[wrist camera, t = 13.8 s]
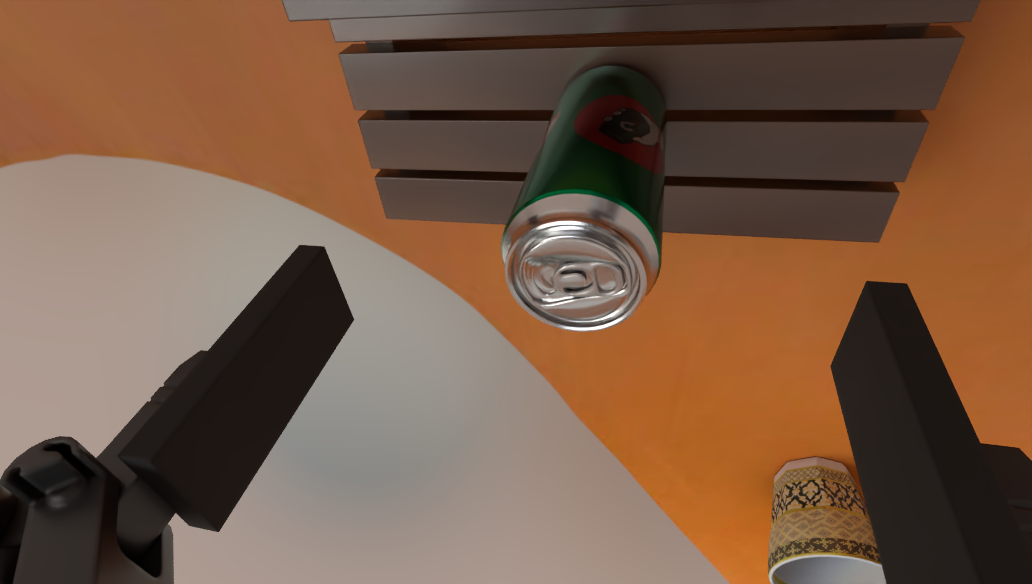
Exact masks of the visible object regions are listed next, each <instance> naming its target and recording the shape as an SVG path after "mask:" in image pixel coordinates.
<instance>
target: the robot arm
mask: <svg viewBox="0 0 1032 584" xmlns="http://www.w3.org/2000/svg"><path fill="white" fill-rule="evenodd" d="M353 321H354V318H353V316H352V313H351V311H350V309H349V306H348V304H347V301H346V299H345V296H344V294H343V291H342V289H341V286H340V284H339V282H338V279H337V277H336V274H335V272H334V269H333V267H332V264H331V262H330V259H329V257H328V254H327V252H326V250H325V247H321V246H307V245H299V246H298V248H297V249H296V250H295V251H294V252H293V253H292V254H291V256H290V257H289V258H288V259H287V260H286V261H285V262H284V264H283V265H282V266H281V267H280V268H279V270H278V271H277V272H276V273H275V274H274V275H273V276H272V278H271V279H270V280H269V281H268V282H267V283H266V284H265V286H264V287H263V288H262V289H261V290H260V291H259V292H258V294H257V295H256V296H255V297H254V298H253V299H252V301H251V302H250V303H249V304H248V305H247V306H246V308H245V309H244V310H243V311H242V312H241V313H240V315H239V316H238V317H237V318H236V319H235V320H234V321H233V322H232V324H231V325H230V326H229V327H228V328H227V329H226V331H225V332H224V333H223V334H222V335H221V336H220V337H219V339H218V340H217V341H216V342H215V343H214V344H213V346H212V347H211V348H210V349H209V350H208V351H202V350H201V351H199V352H198V353H197V354H195V355H194V356H192V357H191V358H189V359H188V360H187V361H185V362H184V363H183V364H181V365H180V366H179V367H178V368H177V369H176V370H175V371H174V372H173V374H172V375H171V376H170V377H169V378H168V379H167V380H166V381H165V382H164V386H163V387H160V388H159V389H158V390H157V391H156V392H155V394H154V395H153V396H152V397H151V401H150V402H147V403H146V404H145V405H144V406H143V407H142V408H141V409H140V410H139V412H138V413H137V414H136V415H135V416H134V417H133V418H132V419H131V420H130V421H129V423H128V424H127V425H126V426H125V427H124V428H123V429H122V430H121V432H120V433H119V434H118V435H117V436H116V437H115V438H114V439H113V441H112V442H111V443H110V444H109V445H108V446H107V447H106V449H105V450H104V451H103V452H102V453H101V454H100V455H99V456H98V457H97V458H95V457H94V456H93V455H92V454H90V452H88V451H87V450H86V449H85V448H84V447H83V446H82V445H81V444H80V443H79V442H78V441H76V440H75V439H73V438H72V437H61V436H59V437H55V438H52V439H48V440H45V441H43V442H41V443H39V444H37V445H35V446H33V447H31V448H29V449H28V450H27V451H25V452H24V453H23V454H21V455H20V456H19V457H17V458H16V459H15V460H14V461H13V462H12V463H11V465H10V466H9V467H8V468H7V469H6V470H5V471H4V473H3V475H2V477H1V479H0V584H174V578H173V577H174V575H173V574H174V572H173V571H174V570H173V533H172V530H171V527H170V526H169V525H168V523H169V521H170V520H171V518H172V517H173V516H174V514H175V513H177V514H178V515H179V516H180V517H181V518H182V519H183V520H184V521H185V522H186V523H187V524H188V525H189V526H192V527H197V528H202V529H207V530H211V531H216V532H219V531H220V529H221V528H222V526H223V525H224V523H225V522H226V520H227V518H228V517H229V515H230V514H231V512H232V510H233V509H234V507H235V506H236V504H237V503H238V501H239V500H240V498H241V496H242V495H243V493H244V492H245V490H246V489H247V487H248V485H249V484H250V482H251V481H252V479H253V477H254V476H255V474H256V473H257V471H258V470H259V468H260V466H261V465H262V463H263V462H264V460H265V459H266V457H267V456H268V454H269V452H270V451H271V449H272V448H273V446H274V444H275V443H276V441H277V440H278V438H279V437H280V435H281V434H282V432H283V430H284V429H285V427H286V426H287V424H288V422H289V421H290V419H291V418H292V416H293V415H294V413H295V412H296V410H297V408H298V407H299V405H300V404H301V402H302V401H303V399H304V397H305V396H306V394H307V393H308V391H309V390H310V388H311V387H312V385H313V383H314V382H315V380H316V379H317V377H318V376H319V374H320V372H321V371H322V369H323V368H324V366H325V364H326V363H327V361H328V360H329V358H330V357H331V355H332V353H333V352H334V350H335V349H336V347H337V345H338V344H339V343H340V341H341V339H342V338H343V336H344V335H345V333H346V331H347V330H348V328H349V327H350V325H351V324H352V322H353ZM831 370H832V374H833V378H834V382H835V386H836V390H837V394H838V397H839V401H840V405H841V409H842V413H843V417H844V421H845V425H846V429H847V432H848V436H849V440H850V444H851V448H852V452H853V456H854V460H855V464H856V467H857V471H858V475H859V479H860V483H861V487H862V491H863V495H864V499H865V502H866V506H867V510H868V514H869V518H870V522H871V526H872V530H873V534H874V538H875V541H876V545H877V549H878V553H879V557H880V561H881V565H882V569H883V573H884V576H885V580H886V584H1032V461H1031V460H1030V459H1029V458H1028V457H1027V456H1026V455H1025V454H1024V453H1023V452H1022V451H1021V450H1020V449H1019V448H1015V447H1007V446H999V445H990V444H982V443H980V442H979V439H978V437H977V435H976V433H975V431H974V428H973V426H972V424H971V422H970V420H969V418H968V415H967V413H966V411H965V409H964V407H963V405H962V402H961V400H960V398H959V396H958V394H957V391H956V389H955V387H954V385H953V383H952V381H951V378H950V376H949V374H948V372H947V370H946V367H945V365H944V363H943V361H942V359H941V357H940V354H939V352H938V350H937V348H936V346H935V344H934V341H933V339H932V337H931V335H930V333H929V330H928V328H927V326H926V324H925V322H924V320H923V317H922V315H921V313H920V311H919V309H918V307H917V304H916V302H915V300H914V298H913V296H912V293H911V291H910V289H909V287H908V285H907V284H905V283H889V282H873V281H866V283H865V286H864V288H863V290H862V293H861V295H860V297H859V300H858V302H857V305H856V307H855V309H854V312H853V314H852V316H851V319H850V321H849V324H848V326H847V328H846V331H845V333H844V335H843V338H842V340H841V342H840V345H839V347H838V350H837V352H836V354H835V357H834V359H833V361H832V364H831Z"/></svg>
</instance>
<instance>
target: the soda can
mask: <svg viewBox="0 0 1032 584" xmlns="http://www.w3.org/2000/svg"><path fill="white" fill-rule="evenodd" d="M666 133H667V112H666V106H665V103H664V100H663V97H662V96H661V94H660V92H659V90H658V89H657V88H656V86H655V85H654V84H653V83H652V82H651V81H650V80H649V79H648V78H647V77H645V76H644V75H642V74H641V73H639V72H637V71H635V70H632V69H630V68H626V67H621V66H602V67H597V68H594V69H591V70H588V71H586V72H584V73H582V74H581V75H579V76H578V77H576V78H575V79H574V80H573V81H572V82H570V83H569V84H568V86H567V87H566V88H565V89H564V91H563V92H562V94H561V96H560V98H559V100H558V102H557V105H556V107H555V109H554V112H553V114H552V116H551V119H550V121H549V124H548V126H547V128H546V131H545V133H544V136H543V138H542V140H541V143H540V145H539V148H538V150H537V152H536V155H535V157H534V160H533V162H532V164H531V167H530V169H529V171H528V174H527V176H526V179H525V181H524V183H523V186H522V188H521V191H520V193H519V195H518V198H517V200H516V203H515V205H514V207H513V210H512V212H511V214H510V217H509V219H508V222H507V224H506V227H505V229H504V232H503V235H502V242H501V255H502V259H503V264H504V266H505V277H506V281H507V285H508V287H509V290H510V292H511V294H512V295H513V297H514V298H515V300H516V301H517V302H518V304H519V305H520V306H521V307H522V308H523V309H524V310H525V311H527V312H528V313H529V314H530V315H532V316H533V317H535V318H536V319H538V320H540V321H542V322H544V323H546V324H548V325H551V326H553V327H556V328H560V329H564V330H570V331H581V332H588V331H597V330H602V329H607V328H609V327H612V326H615V325H617V324H619V323H621V322H623V321H624V320H626V319H627V318H629V317H630V316H631V315H632V314H633V313H634V312H635V311H636V310H637V309H638V307H639V306H640V304H641V303H642V301H643V299H644V297H645V296H646V295H647V294H648V293H649V292H650V291H651V289H652V288H653V286H654V285H655V283H656V281H657V278H658V276H659V273H660V268H661V259H662V234H663V209H664V184H665V159H666Z"/></svg>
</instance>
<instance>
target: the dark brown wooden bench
mask: <svg viewBox="0 0 1032 584" xmlns="http://www.w3.org/2000/svg"><path fill="white" fill-rule="evenodd" d="M282 2H283V5H284V8H285V11H286V14H287V17H288V20H289V21H313V20H329V23H330V26H331V30H332V33H333V37H334V40H335V42H361V41H365V42H366V44H352V45H350V46H349V47H347V48H346V49H345V50H343V51H342V52H340V53H339V58H340V61H341V65H342V68H343V71H344V75H345V78H346V82H347V85H348V89H349V92H350V96H351V99H352V102H353V106H354V109H355V110H368V111H367V112H366V113H365V114H364V115H363V116H362V117H361V118H360V119H358V123H359V126H360V130H361V133H362V137H363V140H364V143H365V147H366V150H367V154H368V157H369V161H370V164H371V168H375V169H381V170H380V171H379V172H378V173H377V175H376V176H375V181H376V184H377V188H378V191H379V195H380V198H381V201H382V205H383V208H384V212H385V215H386V218H387V219H401V220H422V221H442V222H463V223H484V224H504V225H506V224H507V222H508V219H509V217H510V214H511V212H512V210H513V207H514V205H515V203H516V200H517V198H518V195H519V193H520V191H521V188H522V186H523V183H524V181H525V179H526V176H527V174H528V171H529V169H530V167H531V164H532V162H533V160H534V157H535V155H536V152H537V150H538V148H539V145H540V143H541V140H542V138H543V136H544V133H545V131H546V128H547V126H548V124H549V121H550V119H551V116H552V114H553V112H554V109H555V107H556V105H557V102H558V100H559V98H560V96H561V94H562V92H563V91H564V89H565V88H566V87H567V86H568V84H569V83H570V82H572V81H573V80H574V79H575V78H576V77H578V76H579V75H581V74H582V73H584V72H586V71H588V70H591V69H594V68H597V67H602V66H621V67H626V68H630V69H632V70H635V71H637V72H639V73H641V74H642V75H644V76H645V77H647V78H648V79H649V80H650V81H651V82H652V83H653V84H654V85H655V86H656V88H657V89H658V90H659V92H660V94H661V96H662V97H663V100H664V103H665V106H666V112H667V133H666V159H665V184H664V209H663V232H669V233H690V234H711V235H731V236H752V237H773V238H793V239H814V240H835V241H855V242H876V243H878V242H879V241H880V239H881V237H882V234H883V232H884V229H885V227H886V225H887V222H888V220H889V217H890V215H891V213H892V210H893V208H894V205H895V203H896V201H897V198H898V196H899V191H898V189H897V187H896V185H895V184H894V182H905V180H906V177H907V175H908V173H909V170H910V168H911V165H912V163H913V161H914V158H915V156H916V153H917V151H918V149H919V146H920V144H921V141H922V139H923V137H924V134H925V132H926V129H927V127H928V125H929V121H928V120H927V119H926V118H925V116H924V115H923V114H922V113H921V111H920V110H935V108H936V106H937V103H938V101H939V99H940V96H941V94H942V91H943V89H944V87H945V84H946V82H947V79H948V77H949V75H950V72H951V70H952V67H953V65H954V63H955V60H956V58H957V55H958V53H959V51H960V48H961V46H962V44H963V41H964V39H965V37H964V36H963V35H962V34H960V33H959V32H958V31H957V30H955V29H954V28H953V27H952V26H929V23H952V22H971V21H972V19H973V17H974V14H975V12H976V10H977V7H978V5H979V2H980V0H282ZM827 26H836V29H827V30H794V31H762V32H730V33H698V34H666V35H633V36H601V37H569V38H537V39H505V40H472V41H445V40H444V39H454V38H485V37H517V36H548V35H579V34H610V33H641V32H672V31H703V30H734V29H765V28H796V27H827Z"/></svg>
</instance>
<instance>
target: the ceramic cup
mask: <svg viewBox="0 0 1032 584" xmlns="http://www.w3.org/2000/svg"><path fill="white" fill-rule="evenodd" d="M768 576H769V580H770V582H771V584H886V580H885V576H884V573H883V569H882V565H881V561H880V557H879V553H878V549H877V545H876V541H875V538H874V534H873V530H872V526H871V522H870V518H869V514H868V510H867V506H866V504H865V502H864V500H863V498H862V495H861V493H860V491H859V489H858V487H857V485H856V483H855V481H854V479H853V478H852V476H851V474H850V473H849V471H848V470H847V468H846V467H845V466H844V465H843V464H842V463H839V462H835V461H831V460H827V459H824V458H820V457H812V458H806V459H800V460H794V461H789V462H787V463H786V464H785V465H784V466H783V467H782V468H781V469H780V471H779V472H778V473H777V474H776V476H775V477H774V486H773V504H772V519H771V532H770V540H769V555H768Z"/></svg>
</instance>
